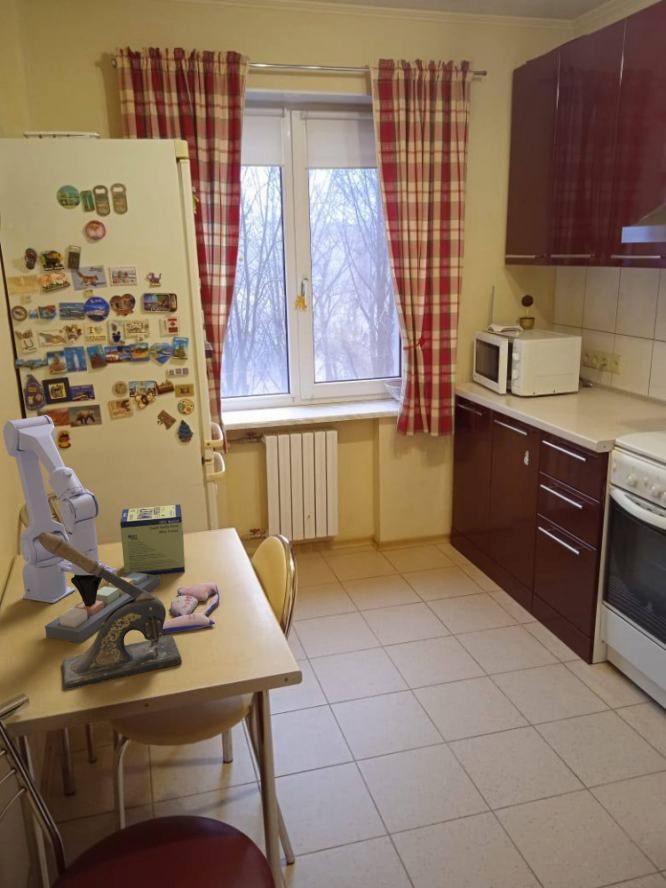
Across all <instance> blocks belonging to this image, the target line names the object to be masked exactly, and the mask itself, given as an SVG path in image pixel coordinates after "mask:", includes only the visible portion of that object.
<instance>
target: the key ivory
mask: <svg viewBox="0 0 666 888" xmlns="http://www.w3.org/2000/svg"><path fill="white" fill-rule="evenodd" d="M58 617H59V618H60V625H63V626H69V627H74V628H76V627H77V626H79V625H80V624H82V623H83V622H85V621H86V620H88V618H87V610H85V609H79V608H74V606H73V607H70V608H68V609H67V610H65V611H64V612H63V613H60V614H59V615H58Z"/></svg>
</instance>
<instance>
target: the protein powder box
mask: <svg viewBox="0 0 666 888" xmlns="http://www.w3.org/2000/svg"><path fill="white" fill-rule="evenodd" d="M119 524H120V535H121V547H122V558H123V570H124V575H125V574H126V573H128V572H129V571H131V572H137V573H144V574H151V575H158V576H160V575H169V574H180V573H185V571H186V566H185V561H186V559H185V544H184V543H185V541H184V527H183V525H184V524H183V515H182V508H181V504H171V505H163V506H162V505H159V506H150V507H149V506H148V507H147V506H146V507H138V508H135V507H134V508H126V509H125V508H124V509H122V511H121V518H120V521H119Z"/></svg>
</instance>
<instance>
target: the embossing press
mask: <svg viewBox="0 0 666 888" xmlns="http://www.w3.org/2000/svg"><path fill="white" fill-rule="evenodd" d="M50 533H51V532H48V533H45V532H43V533H41V534H40V535H38V536H37V537H38V539H39V542H40V543H41V545H42V546H43V547H44V548H45V549H46V550H47V551H49V552H50V553H52V554H54V555H56V556H58V557H61V558H63V559H64V561H69V562H71V563H73V564H75V565H77V566H78V567H80V568H82V569H83V570H84V571H85V572H87V573H90V574H93V575H95V576H99V577H101V578H102V580H104V581H106V582H107V583H108V584H109V583H111V584H112V585H114V586H115V587H117V588H119V589H121V590H122V591H123V592H125V593H127V594H128V595H130V596H132V597H133V599H131V600H128V601H127V602H125V603H123V604H122V605H120V606H118V607H117V608H116V609H114V610H113V611H112V612H111V613H110V614H109V615H108V617H107V618H106V619H105V621H104V622H103V623H102V624H101V628H100V629H99V630H98V631H97V632H98V633H97V635H96V637H95V639H94V641H93V643H92V644H91V645H90V647H89V648H88V649H87V650H86V651H85V652H84V653H82V654H77V655H73V656H71V657H65V658H63V659H62V666H61V667H62V673H63V688H64V690H69V689H70V690H71V689H75V687H76V688H80V687H85V686H88V684H89V685H94V684H97V683H98V684H99V683H102V682H107V681H111V680H115V679H116V680H117V679H120V678H124V677H129V676H132V675H136V674H141V673H146V672H149V671H153V670H157V669H162V668H167V667H171V666H175V665H178V664H182V662H183V661H182V656H181V653H180V652H179V648H178V645H177V644H176V641H175V638H174V636H173V635H167V636H163V635H164V633H163V625H164V622H165V621H166V617H167V616H166V615H167V611H166V607H165V605H164V603H163V602H162V601H161V600H160V599H159V598H158V597H156V596H153V594H152V593H151V592H150V593H149V592H147V591H145V590H143V589H140V588H138V587H136V586H135V585H133V584H131V583H129V582H127V581H126V580H124V579H122V578H120V577H121V576H119V575H115V574H114V573H111V572H110V571H108V570H106V569H105V568H104V567H103V566H101V565H99V564H98V562H97V561H96V560H94V559H92V558H90V557H88V556H86V555H85V554H83V553H81V552H80V551H78V550H77V549H75V548H74V547H73V546H71V545H70V544H69V543H68V542H66V541H65V540H64V539H62V538H60V537H59V536H56V535H54V534H50ZM132 631H138V632H140V633H141V634H142V635H143V638H144V639H145V640H143V641H139V642H134V643H129V644H125V637H126V635H127V634H128V633H129V632H132ZM79 686H80V687H79Z"/></svg>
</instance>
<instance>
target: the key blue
mask: <svg viewBox="0 0 666 888" xmlns="http://www.w3.org/2000/svg"><path fill="white" fill-rule="evenodd" d="M125 578H130V579H133V584H136V585H139V584H140V583H141V582H143V581H144V580H146V579H147V574H142V573H135V572H133V573H131V574H130V575H128V576H127V577H125Z"/></svg>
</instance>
